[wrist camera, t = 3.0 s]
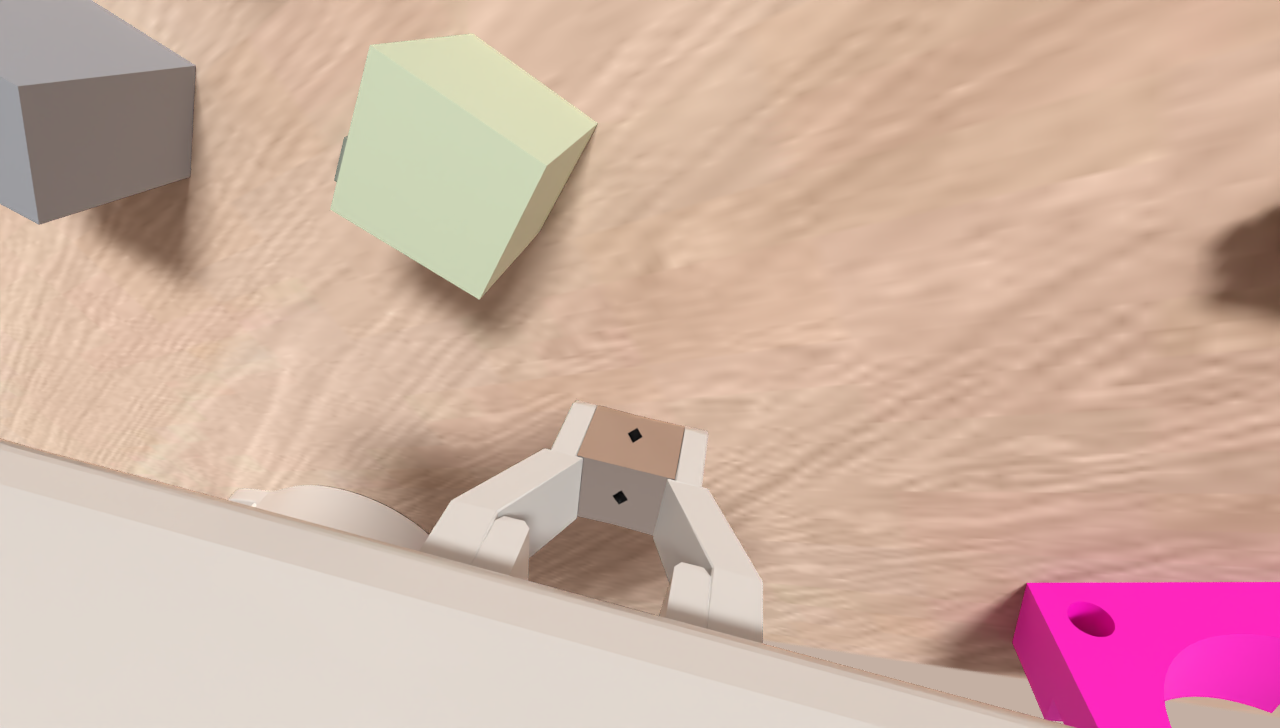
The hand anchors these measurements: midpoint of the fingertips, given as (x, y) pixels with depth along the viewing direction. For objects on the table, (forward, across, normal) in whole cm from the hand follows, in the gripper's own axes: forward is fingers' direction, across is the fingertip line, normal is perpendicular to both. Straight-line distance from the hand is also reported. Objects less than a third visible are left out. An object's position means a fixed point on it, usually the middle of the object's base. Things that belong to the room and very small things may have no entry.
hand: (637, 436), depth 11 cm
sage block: (+11, +8, -2) cm, 14 cm away
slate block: (+10, +23, -2) cm, 26 cm away
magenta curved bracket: (+13, -30, +16) cm, 36 cm away
